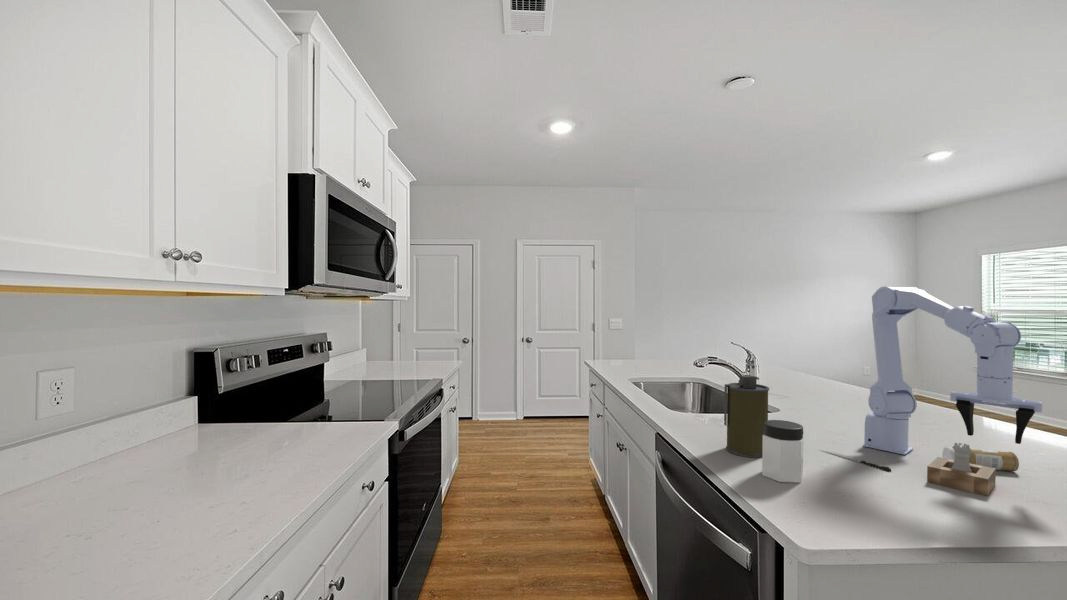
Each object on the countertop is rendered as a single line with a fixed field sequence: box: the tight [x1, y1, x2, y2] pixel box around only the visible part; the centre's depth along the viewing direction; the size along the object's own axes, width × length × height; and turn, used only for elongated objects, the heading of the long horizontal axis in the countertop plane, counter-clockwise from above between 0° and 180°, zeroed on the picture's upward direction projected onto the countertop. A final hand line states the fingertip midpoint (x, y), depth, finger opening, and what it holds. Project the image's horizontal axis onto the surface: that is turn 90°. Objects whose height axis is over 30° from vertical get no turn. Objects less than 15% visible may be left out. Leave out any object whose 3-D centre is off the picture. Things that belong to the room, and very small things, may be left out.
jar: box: [761, 419, 804, 484], centre depth 111 cm, size 9×8×12 cm
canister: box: [723, 375, 770, 459], centre depth 129 cm, size 11×10×20 cm
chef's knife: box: [818, 449, 892, 472], centre depth 124 cm, size 19×1×3 cm
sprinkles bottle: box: [941, 446, 1020, 472], centre depth 117 cm, size 5×5×14 cm
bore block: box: [926, 456, 997, 497], centre depth 108 cm, size 10×10×4 cm
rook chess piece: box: [951, 442, 972, 473], centre depth 108 cm, size 4×4×8 cm
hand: (993, 438), depth 107 cm, fingers open, 7 cm apart
